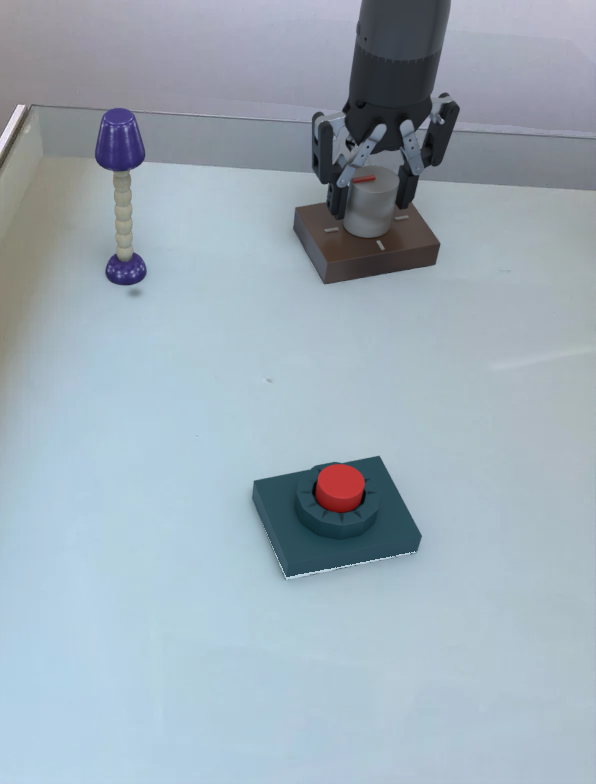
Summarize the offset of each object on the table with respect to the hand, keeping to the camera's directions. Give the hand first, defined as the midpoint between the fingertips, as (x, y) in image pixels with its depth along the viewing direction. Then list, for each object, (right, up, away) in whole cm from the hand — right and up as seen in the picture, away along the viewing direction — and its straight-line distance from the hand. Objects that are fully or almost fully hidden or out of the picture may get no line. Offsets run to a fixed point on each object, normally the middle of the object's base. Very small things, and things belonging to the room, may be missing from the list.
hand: (368, 209), depth 97 cm
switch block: (-7, -33, -18) cm, 39 cm away
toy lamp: (-25, -6, +2) cm, 25 cm away
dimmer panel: (0, -2, +3) cm, 4 cm away
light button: (-7, -31, -21) cm, 38 cm away
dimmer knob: (0, -1, +1) cm, 2 cm away
